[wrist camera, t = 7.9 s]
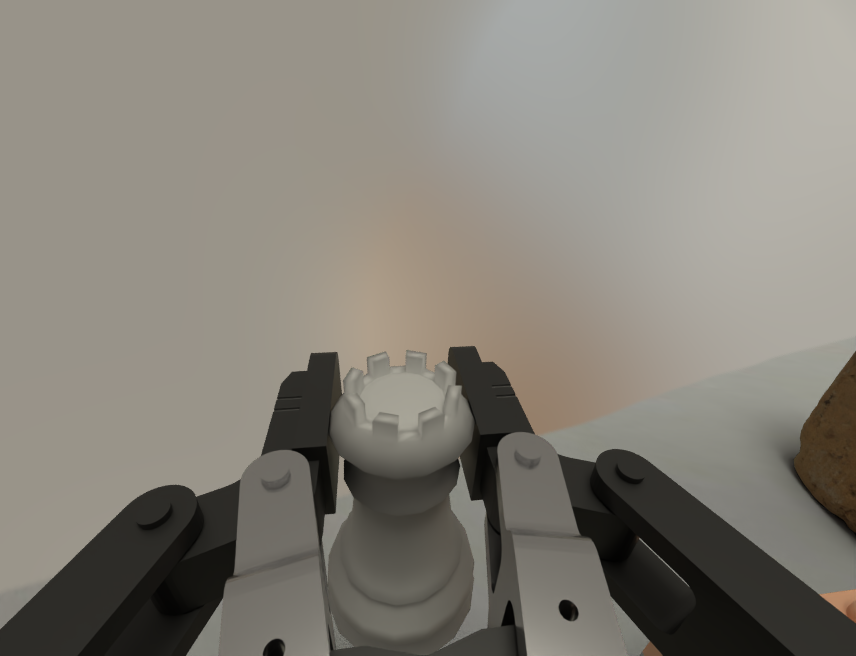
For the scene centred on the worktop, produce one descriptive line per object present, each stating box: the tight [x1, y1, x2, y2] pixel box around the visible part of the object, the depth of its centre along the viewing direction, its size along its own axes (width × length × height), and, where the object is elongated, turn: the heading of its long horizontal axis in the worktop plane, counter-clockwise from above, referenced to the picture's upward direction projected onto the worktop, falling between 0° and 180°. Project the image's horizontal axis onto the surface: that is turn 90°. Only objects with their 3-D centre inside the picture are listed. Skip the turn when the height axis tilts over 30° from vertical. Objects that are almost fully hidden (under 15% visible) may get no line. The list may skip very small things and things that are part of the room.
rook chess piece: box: [328, 350, 475, 655], centre depth 11 cm, size 4×4×8 cm
